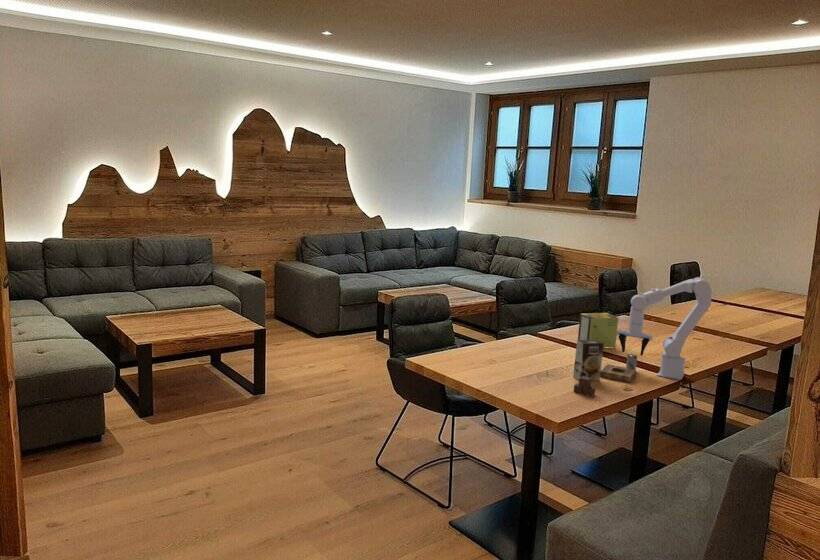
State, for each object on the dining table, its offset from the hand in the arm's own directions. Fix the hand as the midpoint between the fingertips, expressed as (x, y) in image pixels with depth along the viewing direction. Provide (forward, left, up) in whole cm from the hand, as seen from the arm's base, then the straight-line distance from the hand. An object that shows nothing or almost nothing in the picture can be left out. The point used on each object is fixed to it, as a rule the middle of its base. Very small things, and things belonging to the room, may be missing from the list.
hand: (632, 353), depth 277 cm
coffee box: (+13, +23, -8) cm, 28 cm away
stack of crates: (+9, +40, -9) cm, 42 cm away
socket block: (+3, +11, -8) cm, 14 cm away
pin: (0, 0, -8) cm, 8 cm away
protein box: (+23, -31, -8) cm, 39 cm away
